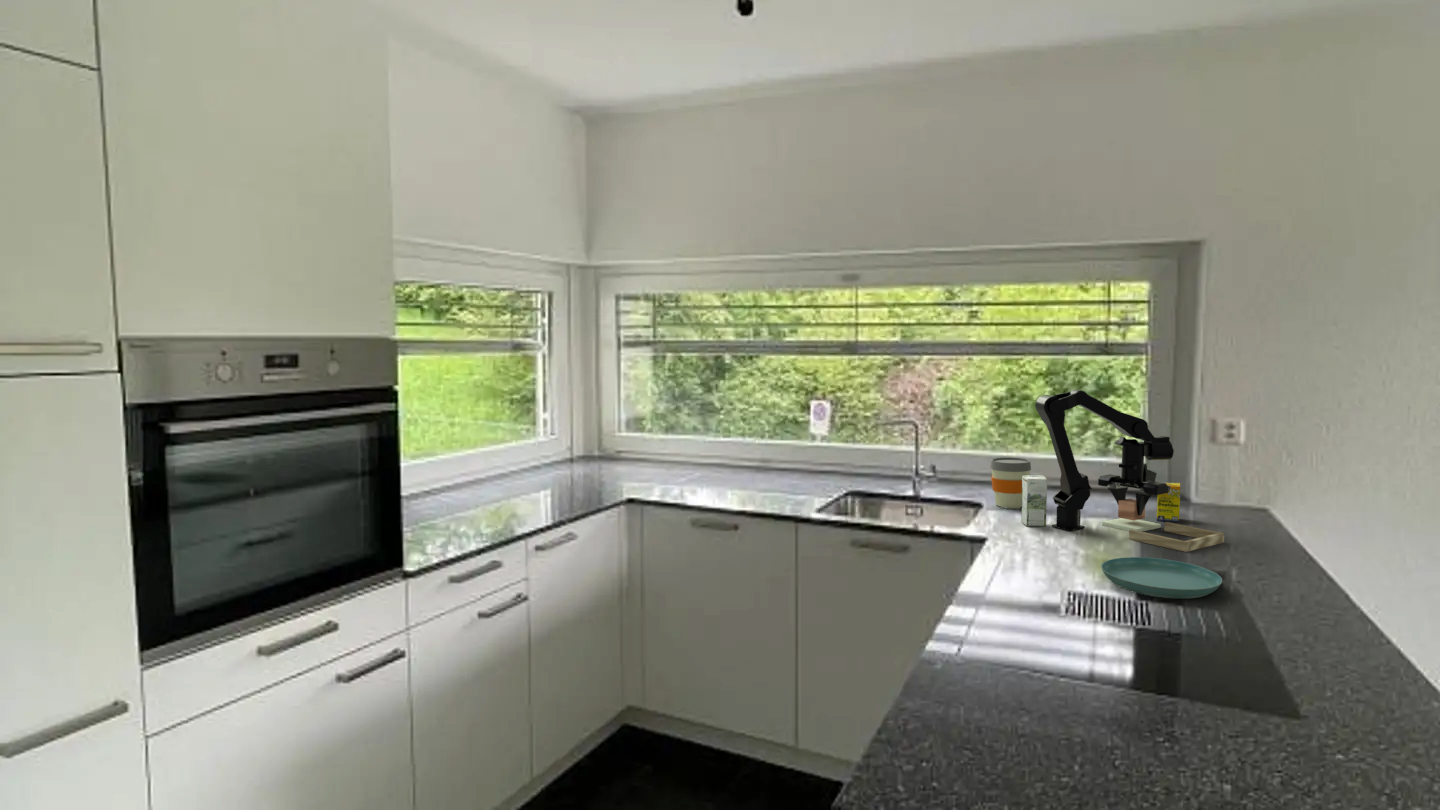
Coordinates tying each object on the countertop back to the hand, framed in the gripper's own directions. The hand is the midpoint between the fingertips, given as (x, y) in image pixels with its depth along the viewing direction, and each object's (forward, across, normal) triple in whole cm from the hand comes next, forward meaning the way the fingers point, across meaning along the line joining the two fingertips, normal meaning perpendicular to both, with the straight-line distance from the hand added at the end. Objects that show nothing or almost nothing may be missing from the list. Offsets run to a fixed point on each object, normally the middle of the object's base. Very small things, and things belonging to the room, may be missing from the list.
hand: (1131, 513), depth 242 cm
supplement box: (+4, -1, -16) cm, 16 cm away
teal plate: (+4, -37, +44) cm, 58 cm away
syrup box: (+4, +17, +21) cm, 27 cm away
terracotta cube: (+1, 0, 0) cm, 1 cm away
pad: (+4, 0, 0) cm, 4 cm away
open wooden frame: (+4, -16, +5) cm, 17 cm away
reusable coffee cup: (+4, +39, +6) cm, 40 cm away
